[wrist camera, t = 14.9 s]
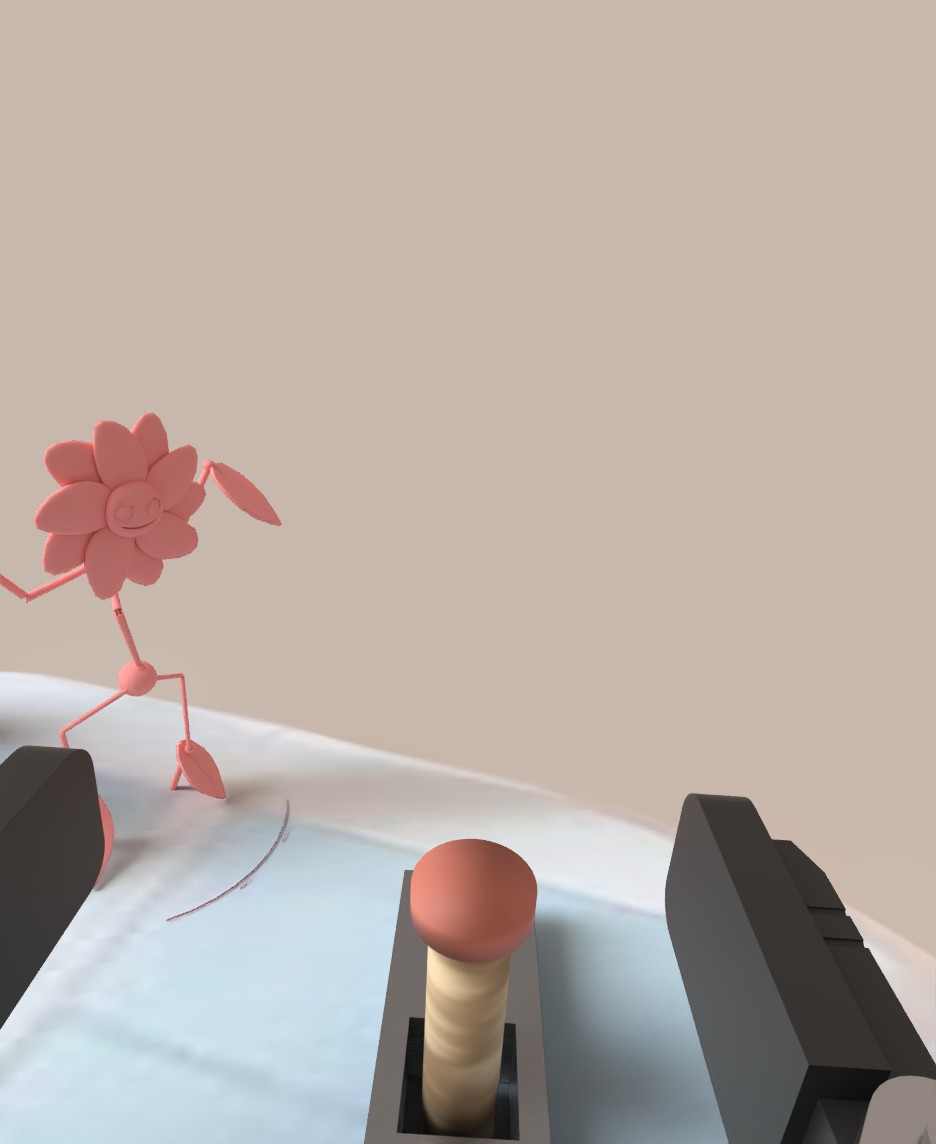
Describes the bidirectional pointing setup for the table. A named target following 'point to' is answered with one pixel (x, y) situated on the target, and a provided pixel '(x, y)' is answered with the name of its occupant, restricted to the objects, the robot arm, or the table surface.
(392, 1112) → the bar
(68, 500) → the figurine
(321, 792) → the table surface
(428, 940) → the oak pin
